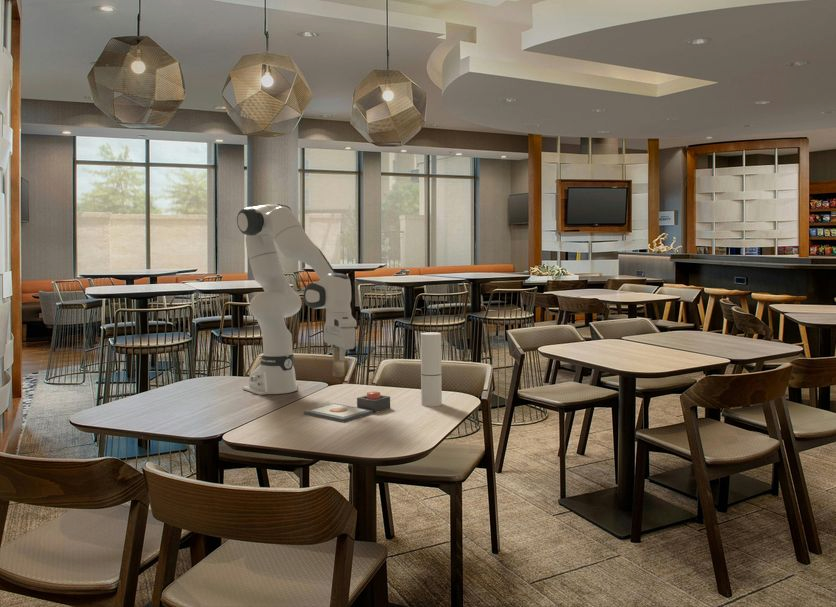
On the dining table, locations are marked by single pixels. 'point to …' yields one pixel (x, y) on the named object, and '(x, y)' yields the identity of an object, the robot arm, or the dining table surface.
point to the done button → (373, 395)
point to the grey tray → (338, 412)
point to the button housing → (374, 403)
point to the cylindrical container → (431, 369)
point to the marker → (337, 363)
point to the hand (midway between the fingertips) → (338, 358)
